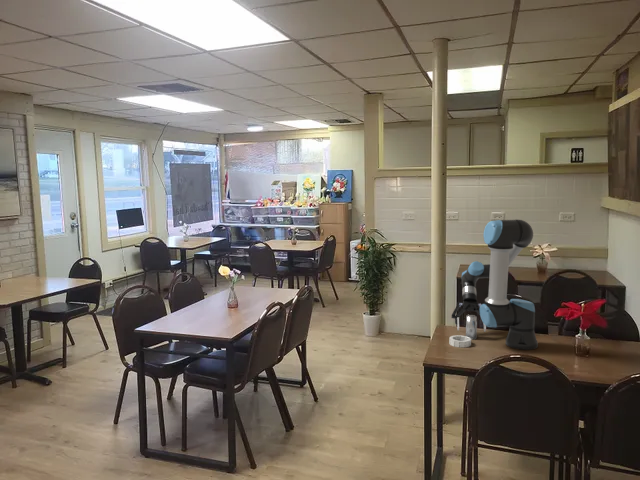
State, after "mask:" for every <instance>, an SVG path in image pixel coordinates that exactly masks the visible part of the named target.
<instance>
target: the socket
mask: <svg viewBox="0 0 640 480" xmlns="http://www.w3.org/2000/svg"><path fill="white" fill-rule="evenodd" d="M449 345H450V346H452V347H455V348H469V347H471V346H472V340H471V338H470V337H467V336H466V335H458V334H457V335H451V336H449Z"/></svg>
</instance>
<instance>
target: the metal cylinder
mask: <svg viewBox="0 0 640 480" xmlns="http://www.w3.org/2000/svg"><path fill="white" fill-rule="evenodd" d="M477 329H478V316H477V315H475V314H467V315H465V336H467V337H470V338H471V341H472V340H473V341H474V340H477V337H478V336H477V333H478V332H477V331H478V330H477Z"/></svg>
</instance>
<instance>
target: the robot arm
mask: <svg viewBox="0 0 640 480" xmlns="http://www.w3.org/2000/svg"><path fill="white" fill-rule="evenodd" d="M533 230H534V229H533V228H532V226H531V224H530V223H528V221H526V220H522V219H501V220H500V219H497V220H491V221H489V222H487V224H486V225H485V227H484V230H483V240H484V243H485V244H486V245H487V248H488V249H489V250H490V257H489V259H490V261H489V263H487V264H484V263H482V262H481V261H480V262H479V261H477V260H475V261H473V262H470V264H469V266H468V268H467V269H466V270H464V271H462V272H461V289H462V290H461V291H462V302H460V301H457V303H456V306H455V308H454V310H453V312H452V314H451V319H454V324H455V325H456V326H457V331H460V317H461V316H462V315H463V314H464V313H465V312H466V311H467V312H475V313H476V314H478V316H480V319H481V321H482V323H483V325H482V326H483V332H487V331H486V330H487V327H488V328H500V327H504V328H505V327H509V330H508V333H507V335H506V338H505V345H506V346H507V347H510V348H512V349H517V350H525V351H527V350H530V351H531V350H535V349H537V348H538V347H539V346H538V345H539V343H538V340H537V337H536V336H537V335H536V332H535V317H536V315H535V313H536V308H535V304H534V303H533V302H532V301H528V300H525V299H521V298H511V299H510V300H509V299H508V297H507V295H508V294H507V293H508V278H509V267H510V266H511V264H512V262H513V261H514V260H515V259H516V258H517V256H518V255H520V253H521V252H522V250H523V249H525V248H527V247H528V246H530V244H531V243H532V241H533V237H534V231H533ZM479 279H489V281H488V294H487V297H486V298H485V299H484V303H483V302H480V303H479V302H478V298H477V294H478V293H477V282H478V280H479ZM461 307H462V308H461ZM460 308H461V309H460ZM459 309H460V310H459Z"/></svg>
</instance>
